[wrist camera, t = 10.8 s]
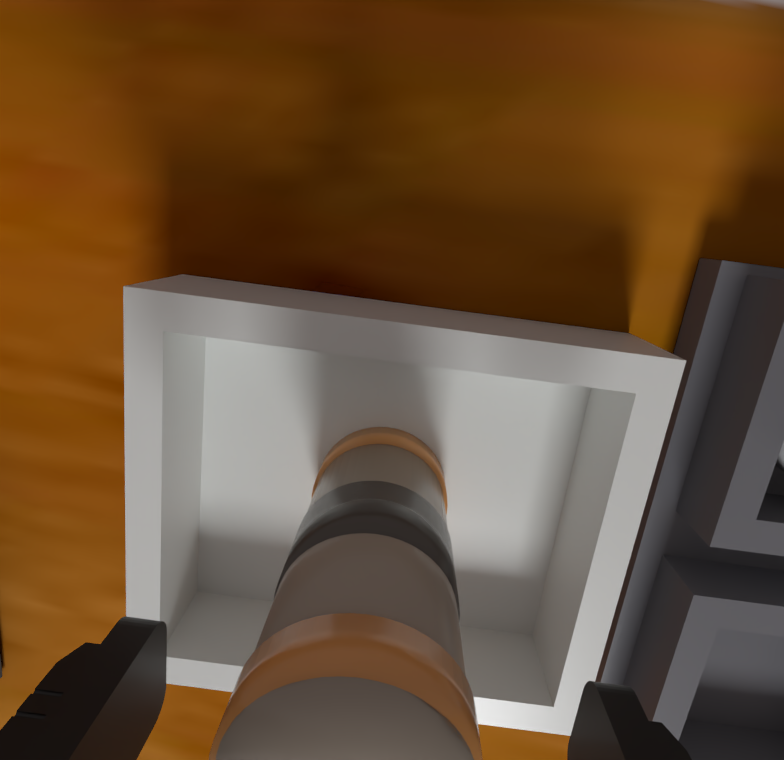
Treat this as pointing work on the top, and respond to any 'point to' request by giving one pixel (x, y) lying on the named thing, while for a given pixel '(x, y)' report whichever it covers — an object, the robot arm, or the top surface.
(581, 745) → the robot arm
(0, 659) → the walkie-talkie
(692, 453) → the fuse block
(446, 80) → the top surface
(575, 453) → the parts tray
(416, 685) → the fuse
